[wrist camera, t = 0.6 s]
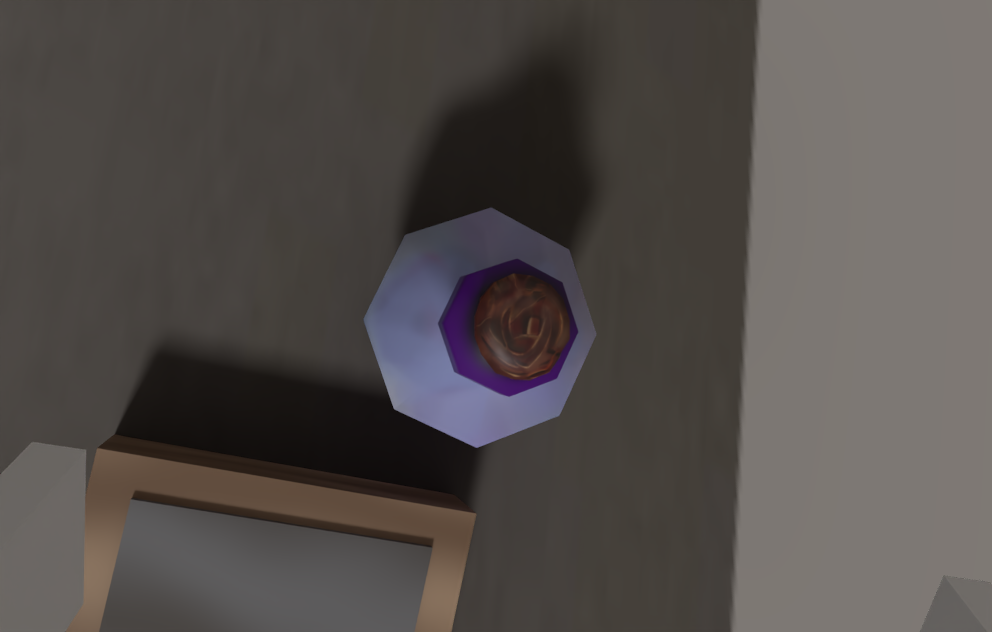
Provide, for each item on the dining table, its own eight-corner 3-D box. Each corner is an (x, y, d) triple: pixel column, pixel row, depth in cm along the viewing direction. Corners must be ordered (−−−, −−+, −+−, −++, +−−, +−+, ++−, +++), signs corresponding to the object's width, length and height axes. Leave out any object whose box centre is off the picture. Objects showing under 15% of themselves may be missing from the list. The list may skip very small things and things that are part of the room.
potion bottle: (533, 429, 40) (649, 473, 28) (337, 423, 37) (374, 467, 26) (544, 236, 40) (664, 200, 28) (350, 218, 38) (393, 170, 26)
